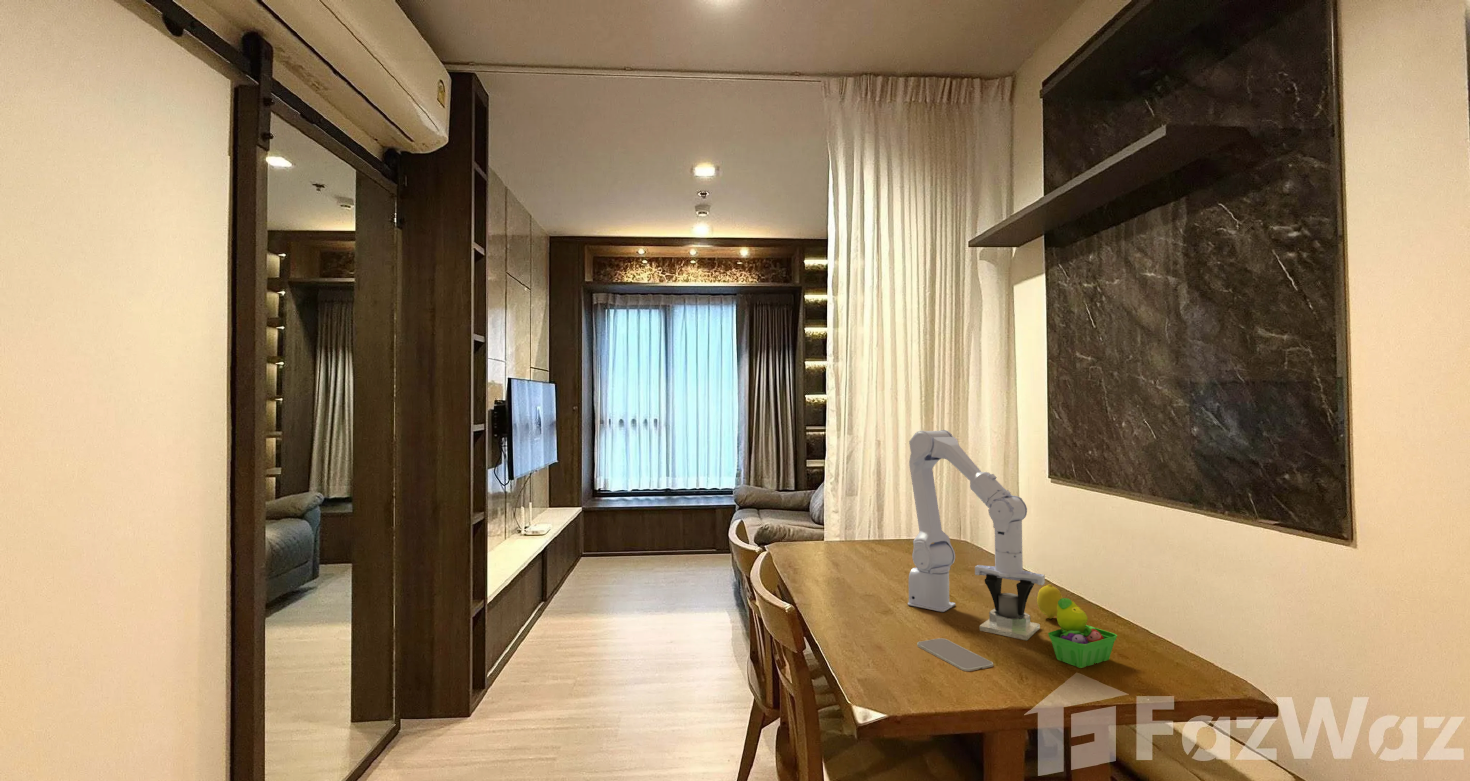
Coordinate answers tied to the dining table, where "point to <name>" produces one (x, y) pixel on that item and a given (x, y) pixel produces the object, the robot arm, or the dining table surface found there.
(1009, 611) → the cylindrical peg
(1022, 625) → the octagonal socket plate
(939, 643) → the smartphone
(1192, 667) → the dining table surface
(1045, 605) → the lemon
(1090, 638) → the fruit basket
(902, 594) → the dining table surface
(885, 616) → the dining table surface
